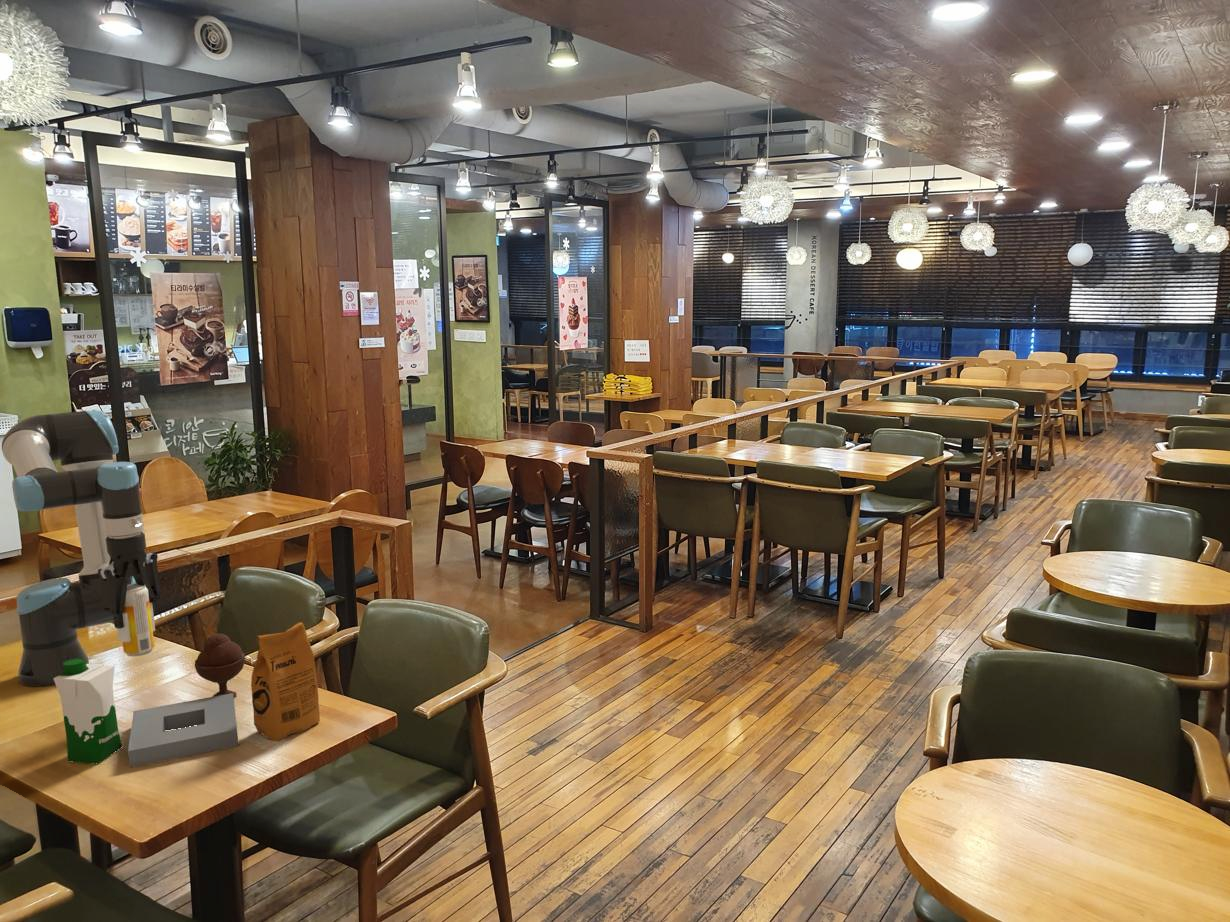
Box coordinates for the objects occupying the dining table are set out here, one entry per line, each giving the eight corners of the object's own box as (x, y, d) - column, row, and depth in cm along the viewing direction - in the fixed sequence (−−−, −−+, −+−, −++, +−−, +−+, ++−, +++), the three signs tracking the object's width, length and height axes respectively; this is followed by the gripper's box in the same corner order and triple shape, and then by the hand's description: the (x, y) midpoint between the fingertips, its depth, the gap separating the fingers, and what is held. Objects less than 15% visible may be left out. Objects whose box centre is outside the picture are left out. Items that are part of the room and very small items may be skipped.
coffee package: (248, 731, 197) (238, 633, 193) (301, 710, 206) (293, 616, 203) (272, 745, 191) (262, 643, 187) (326, 723, 200) (318, 626, 196)
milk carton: (92, 743, 194) (80, 652, 190) (130, 746, 192) (118, 654, 188) (60, 763, 185) (46, 669, 182) (99, 767, 184) (86, 672, 180)
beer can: (144, 644, 209) (136, 581, 206) (160, 649, 206) (153, 585, 203) (118, 654, 204) (110, 589, 201) (134, 659, 201) (126, 593, 198)
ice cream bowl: (188, 706, 210) (181, 643, 208) (219, 686, 221) (213, 626, 218) (228, 709, 208) (222, 646, 205) (258, 689, 219) (252, 628, 216)
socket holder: (135, 726, 201) (133, 711, 200) (234, 707, 209) (233, 693, 208) (130, 767, 183) (127, 751, 182) (238, 745, 191) (237, 729, 190)
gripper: (100, 547, 190) (113, 653, 194) (172, 524, 207) (183, 622, 212) (73, 544, 193) (87, 649, 197) (147, 522, 210) (158, 619, 214)
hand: (137, 635), depth 204 cm, fingers closed on beer can, 6 cm apart
